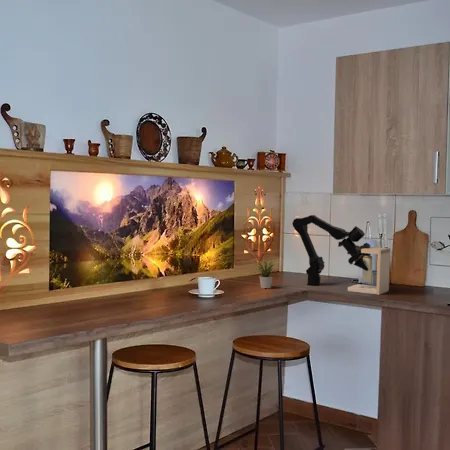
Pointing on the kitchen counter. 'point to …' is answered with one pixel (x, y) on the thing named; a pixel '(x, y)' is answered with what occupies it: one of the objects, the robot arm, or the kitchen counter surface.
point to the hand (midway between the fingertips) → (369, 270)
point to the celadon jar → (368, 274)
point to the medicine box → (374, 279)
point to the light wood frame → (382, 272)
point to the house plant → (266, 274)
